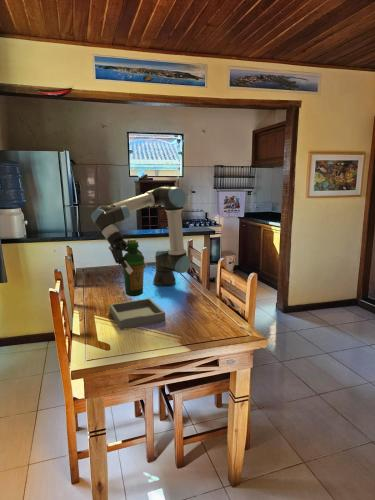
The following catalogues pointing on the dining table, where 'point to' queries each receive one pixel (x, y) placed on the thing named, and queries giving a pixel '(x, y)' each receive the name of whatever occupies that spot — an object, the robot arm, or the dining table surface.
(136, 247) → the bottle
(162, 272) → the robot arm
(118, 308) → the tray
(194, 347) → the dining table surface
